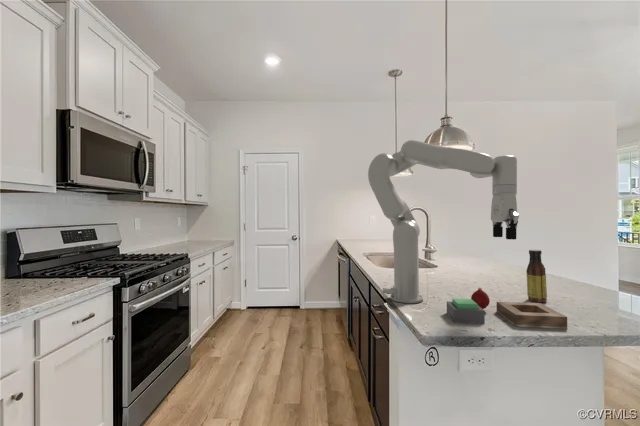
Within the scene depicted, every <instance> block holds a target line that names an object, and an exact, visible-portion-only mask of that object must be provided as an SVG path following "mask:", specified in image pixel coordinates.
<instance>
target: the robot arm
mask: <svg viewBox="0 0 640 426" xmlns="http://www.w3.org/2000/svg"><path fill="white" fill-rule="evenodd" d="M517 161H518V159H517V157H516V156H515V155H510V154H509V155H508V154H507V155H500V156H499V155H498V156H495V157H494V158H493V157H492V156H491V155H489V154H486V153H483V152H479V151H474V150H470V149H464V148H458V147H457V148H456V147H446V146H441V145H437V144H432V143H427V142H423V141H419V140H414V139H412V140H410V139H409V140H407V141H405V142H404V143H403V144H402V145H401V148H400V151H398V152H396V153H394V154H392V155H391V154H389V153H383V152H382V153H379V154H377V155H376V156H375V157H374V158H373V159H372V161H371V162H370V164H369V167H368V170H367V171H368V172H367V177H368V183H369V185H370V187H371V190H372V192H373V194H374V196H375V199H376V201H377V202H378V205H379V207H380V208H381V211H382V213H383V215H384V216H385V217H386V218H387V219H389V220H390V223H391V224H392V226H393V228H394V229H393V231H392V242H393V243H392V245H393V272H394V273H393V275H394V276H393V279H394V280H393V281H394V282H393V283H394V285H392V287H390V288H387V287H385V288H382V294H386V295H390V299H391V300H392V301H393V302H397V303H401V304H418V303H421V302H423V301H424V297H423V295H421V294H420V282H419V281H420V277H419V273H420V272H419V268H420V267H419V266H420V265H419V237H420V235H421V233H420V232H421V229H420V226H419V225H418V222H417V219H415V217H414V215H413V213H412V211H411V209H410V207H409V205H408V204H407V202H406V201H405V200H403V199H402V198H401V197H400V195H399V193H398V191H397V190H396V188H395V185H394V184H393V182H392V180H391V178H390V177H393V176H394V177H395V176H396V175H398V174H400V173H402V172H404V171H406V170H408V169H410V168H411V167H414V166H416V165H421V166H425V167H430V168H433V169H440V170H445V169H446V170H448V169H451V170H457V171H463V172H467V173H469V174H470V176H471V177H473V178H475V179H483V178H492V179H491V180H492V183H491V184H492V186H491V187H492V189H491V190H492V192H491V193H492V200H491V206H490V207H491V208H490V221H492V237H494V238H503V237H504V235H503V233H504V232H503V231H504V229H503V223H505V225H506V227H505V239H506V240H517V228H518V223H519V217H520V215H519V213H518V206H517V205H518V204H517V203H518V202H517V196H516V195H518V194H517V192H518V189H517V188H518V186H517V185H518V184H517V183H518V181H517V180H518V175H517V174H518V162H517Z"/></svg>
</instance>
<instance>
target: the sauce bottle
mask: <svg viewBox="0 0 640 426" xmlns="http://www.w3.org/2000/svg"><path fill="white" fill-rule="evenodd" d="M528 254H529V262H528V265H527V268H526V291H527V298H528V300H529V301H532V302H533V303H546V302H547V301H548V299H547V297H548V291H547V289H548V288H547V274H546V268H545V266H544V264H543V263H542V249H529V250H528Z"/></svg>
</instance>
